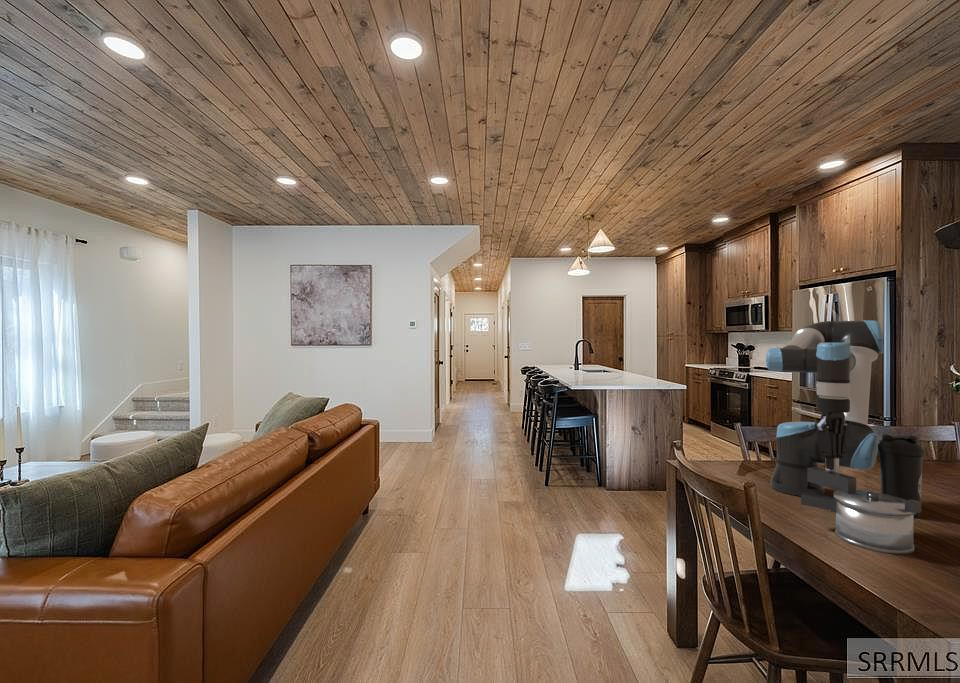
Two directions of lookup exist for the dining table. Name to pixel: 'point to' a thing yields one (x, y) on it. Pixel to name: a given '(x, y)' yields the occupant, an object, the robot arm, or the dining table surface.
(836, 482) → the lid
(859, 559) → the dining table surface
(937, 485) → the dining table surface
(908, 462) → the water bottle
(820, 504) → the pot
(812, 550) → the dining table surface
